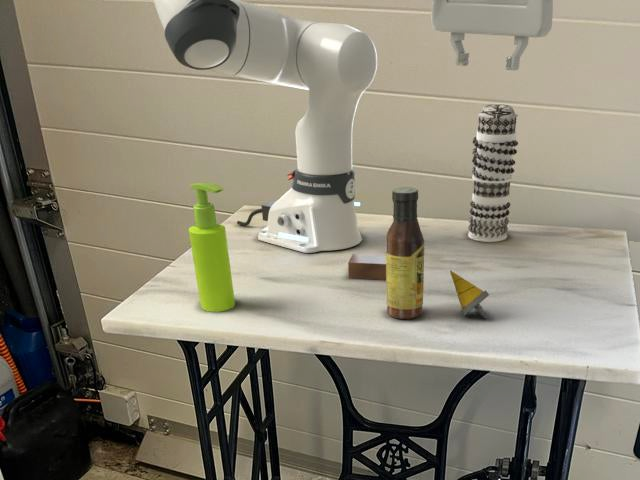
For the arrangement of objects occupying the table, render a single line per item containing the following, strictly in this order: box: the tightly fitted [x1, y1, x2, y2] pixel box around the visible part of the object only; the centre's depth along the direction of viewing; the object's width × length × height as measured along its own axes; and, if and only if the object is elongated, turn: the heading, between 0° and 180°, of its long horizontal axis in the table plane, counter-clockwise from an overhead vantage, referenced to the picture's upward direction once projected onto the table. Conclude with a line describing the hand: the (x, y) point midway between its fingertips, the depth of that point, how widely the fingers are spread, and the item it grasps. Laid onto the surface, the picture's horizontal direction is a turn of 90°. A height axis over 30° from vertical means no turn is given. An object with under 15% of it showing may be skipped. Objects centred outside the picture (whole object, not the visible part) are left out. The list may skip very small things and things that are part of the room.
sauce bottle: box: [385, 186, 425, 320], centre depth 119 cm, size 7×6×20 cm
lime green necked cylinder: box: [188, 181, 236, 313], centre depth 121 cm, size 6×7×20 cm
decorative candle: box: [467, 103, 519, 243], centre depth 151 cm, size 9×9×25 cm
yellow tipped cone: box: [450, 270, 490, 319], centre depth 122 cm, size 5×5×10 cm
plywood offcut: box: [347, 253, 386, 281], centre depth 139 cm, size 8×5×3 cm, turn 83°
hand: (486, 67), depth 119 cm, fingers open, 8 cm apart
